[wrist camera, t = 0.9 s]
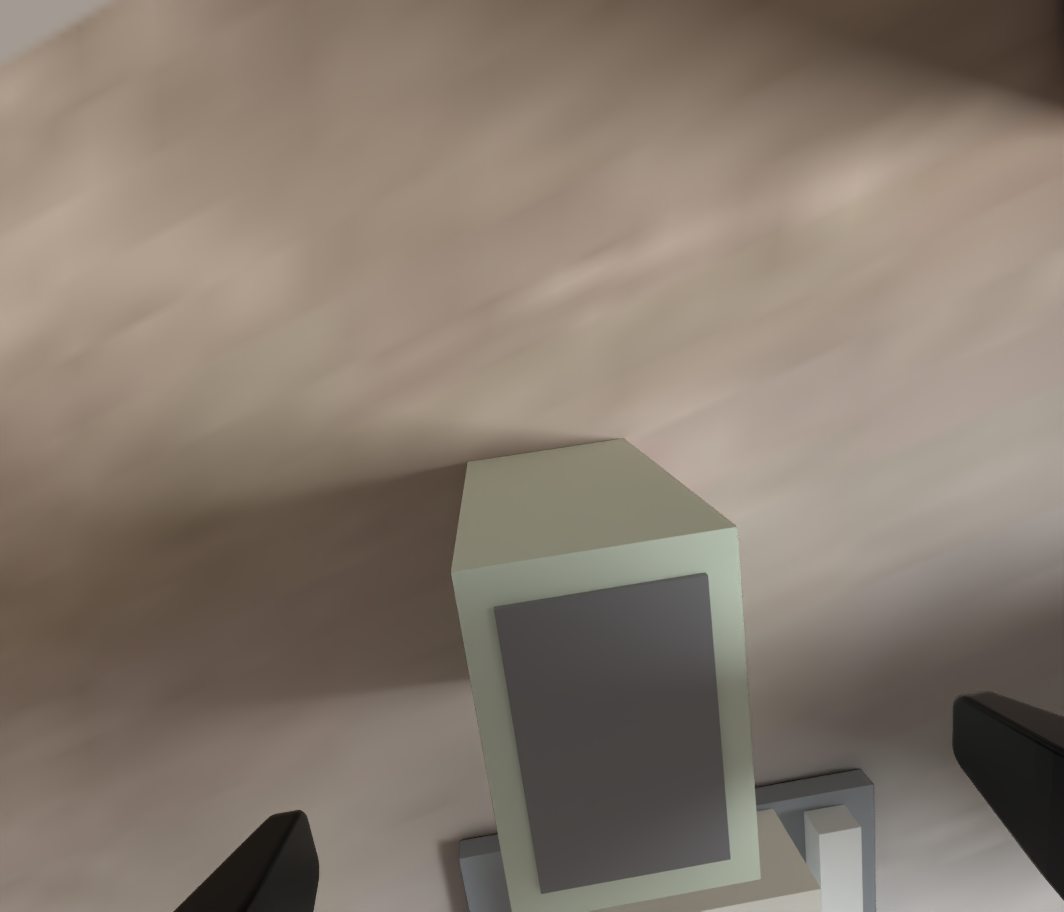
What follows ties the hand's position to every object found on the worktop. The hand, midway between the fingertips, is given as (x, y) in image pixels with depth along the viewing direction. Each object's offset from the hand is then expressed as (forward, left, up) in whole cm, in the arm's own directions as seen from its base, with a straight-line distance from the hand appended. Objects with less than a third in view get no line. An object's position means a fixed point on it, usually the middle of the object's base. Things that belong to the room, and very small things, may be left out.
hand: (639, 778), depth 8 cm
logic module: (0, 0, -8) cm, 8 cm away
